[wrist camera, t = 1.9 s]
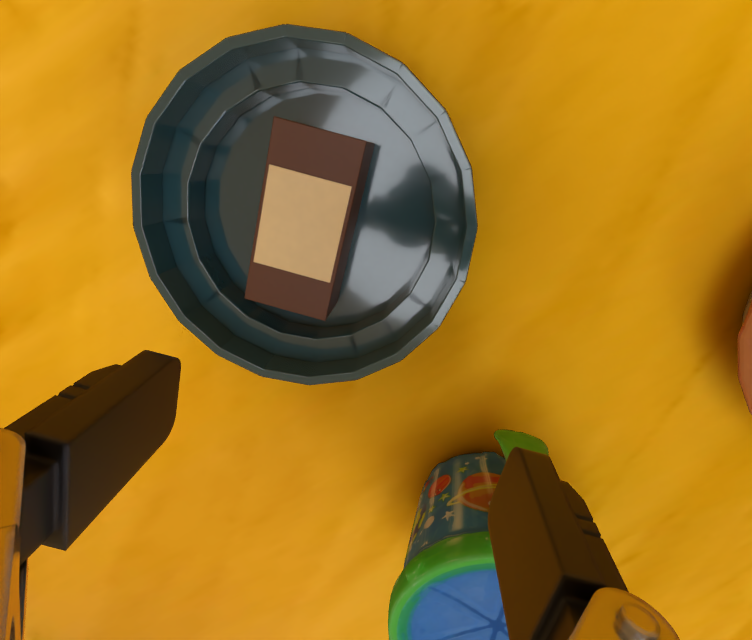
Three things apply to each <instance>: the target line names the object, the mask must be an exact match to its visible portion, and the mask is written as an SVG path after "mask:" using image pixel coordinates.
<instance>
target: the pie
mask: <svg viewBox="0 0 752 640" xmlns="http://www.w3.org/2000/svg"><path fill="white" fill-rule="evenodd" d="M738 378H739V382H740V385H741V388H742V391H743V394H744V397H745V400H746V403H747V406H748V409H749V412H750V413H751V414H752V291H751V294H750V296H749V299H748V302H747V304H746V307H745V310H744V313H743V325H742V327H741V329H740V331H739V334H738Z"/></svg>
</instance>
